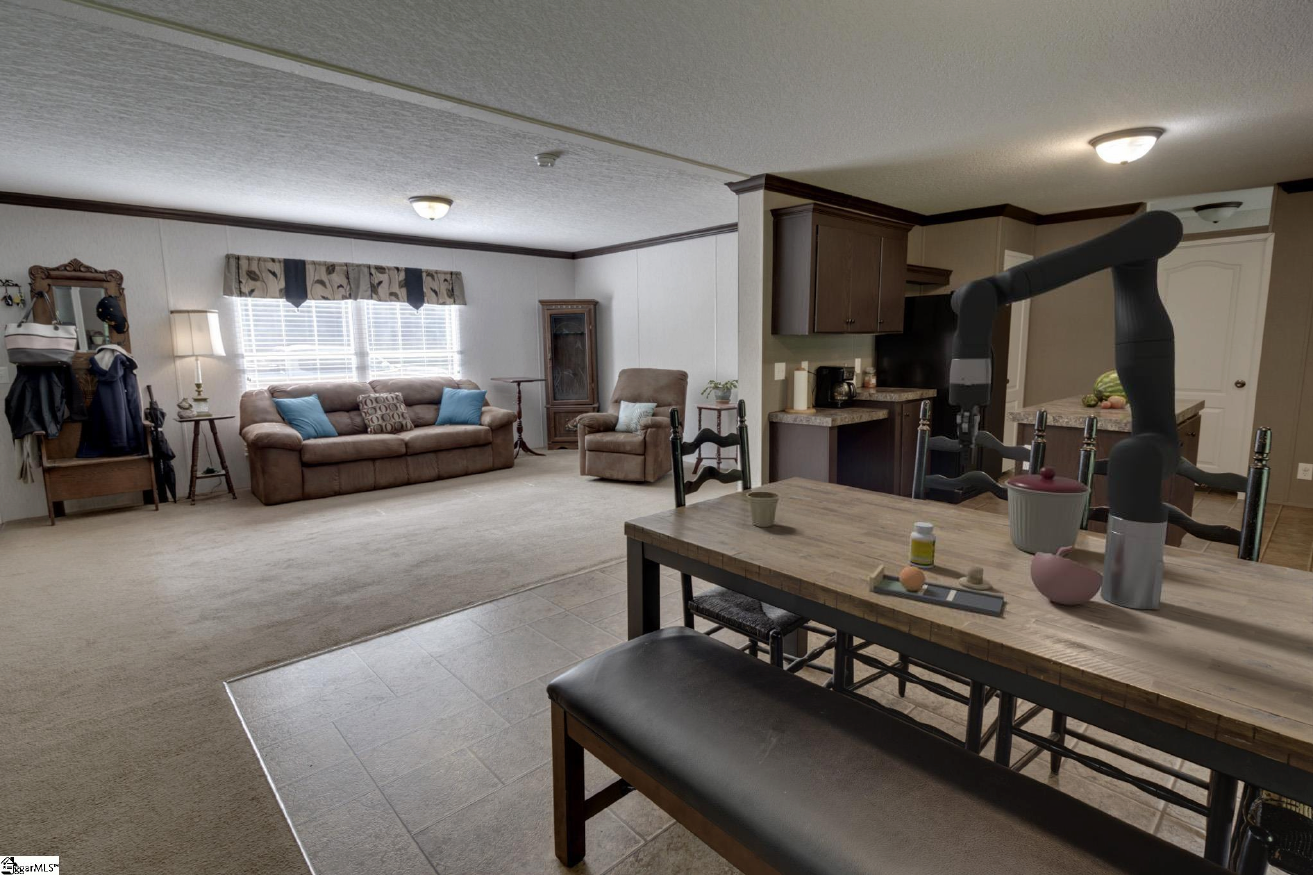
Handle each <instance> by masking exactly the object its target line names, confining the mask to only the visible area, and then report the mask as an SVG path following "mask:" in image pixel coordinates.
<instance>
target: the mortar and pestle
mask: <svg viewBox="0 0 1313 875" xmlns="http://www.w3.org/2000/svg"><path fill="white" fill-rule="evenodd" d="M1075 550H1076V547H1075V546H1069V547H1061V548H1060V549H1059V551H1058V552H1057V554H1056V555H1053V554H1051V553H1042V552H1037V553H1036V554H1034V556H1033V558H1032V560H1031V564H1030V567H1029V568H1030V578H1031V580H1032V583H1033V585H1034V587H1035V588H1036V589H1037V591H1038V592H1039V593H1040V594H1041V595H1042V596H1043V597H1045V598H1046V599H1048V600H1050V601H1052V602H1054V603H1057V604H1061V605H1066V606H1075V605H1081V604H1084V603H1086V602H1088V601H1090V600H1092V599H1093V598H1094V597H1095V596H1096V595H1097V594H1098V593H1099V592H1100V591H1101V585H1102V581H1103V574H1102V573H1100V572H1098V571H1097V570H1095V569H1093V568H1091V567H1089V566H1086V565H1085V564H1082V563H1081V564H1080V563H1079V562H1078V561H1074V560H1071V559H1070V558H1065V557H1064V556H1065V555H1066V554H1065V553H1067V552H1069V553H1072V552H1073V551H1075ZM1064 554H1065V555H1064Z"/></svg>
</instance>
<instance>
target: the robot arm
mask: <svg viewBox="0 0 1313 875" xmlns="http://www.w3.org/2000/svg"><path fill="white" fill-rule="evenodd" d="M1183 234H1184V226H1183V223H1182V221H1181V219H1180V218H1179V217H1178V216H1177V215H1176V214H1174V213H1172V212H1170V211H1167V210H1161V209H1160V210H1159V209H1156V210H1148V211H1143V212H1142V213H1140V214H1137V215H1135V216H1133V217H1131V218H1130V219H1128V220H1126V221H1125V222H1123V223H1122V224H1119V225H1118V226H1117V227H1116V228H1115V229H1112V230H1111V231H1108V232H1106V233H1103V234H1101V235H1099V236H1096V237H1094V238H1092V239H1089V240H1087V241H1084V242H1081V243H1078V244H1075V245H1073V246H1069V247H1066V248H1063V249H1060V250H1057V251H1054V252H1052V253H1048V254H1045V255H1042V256H1039V257H1036V258H1032V259H1031V260H1028V261H1024V262H1022V263H1019V264H1017V265H1014V266H1011V267H1008V268H1007V269H1005V270H1003V271H1001V272H999V273H996V274H993V275H990V276H987V277H983V278H980V279H975V280H972V281H969V282H967V283H965V284H962V285H960V286H959V287H957V289H955V291H954V292H953V294H952V297H951V300H950V305H951V308H952V311H953V312H954V313H955V314H956V315H958V320H957V321H958V322H957V329H956V331H955V333H954V335H953V339H952V347H951V348H952V351H951V365H950V370H949V386H948V387H949V392H948V394H949V395H948V403H949V404H950V405H953V406H960V407H961V408H960V412H958V413H957V414H956V423H957V435H958V436H957V437H958V445H959V448H960V454H959V455H960V456H959V457H960V458H959V459H960V461H959V465H961V466H965V467H966V466H967V467H972V465H973V461H974V460H973V458H974V457H973V456H974V448H975V445H976V441H977V438H976V436H977V435H978V432H979V431H978V428H979V422H980V420H981V419H980V418H981V417H980V416H981V415H980V414H981V413H977V406H988V405H989V404H990V401H991V400H990V399H991V384H992V383H991V381H992V379H991V378H992V365H991V364H992V363H991V353H992V352H991V350H992V333H993V330H994V329H993V328H994V325H995V320H996V316H997V310H998V308H1001V307H1003V306H1006V305H1009V304H1013V303H1018V302H1022V301H1026V300H1028V299H1032V298H1035V297H1037V296H1040V295H1043V294H1046V293H1049V292H1051V291H1054V290H1057V289H1058V288H1062V287H1064V286H1066V285H1069V284H1071V283H1073V282H1076V281H1078V280H1081V279H1083V278H1085V277H1087V276H1090V275H1093V274H1095V273H1099V272H1101V271H1104V270H1107V269H1110V270H1111V278H1112V283H1113V284H1112V285H1113V292H1114V294H1113V295H1114V363H1115V371H1116V376H1117V377H1118V381H1119V383H1120V386H1121V388H1122V391H1123V392H1124V394H1125V397H1126V399H1127V402H1128V405H1129V408H1130V409H1129V410H1130V415H1131V416H1130V417H1131V418H1130V419H1131V429H1130V430H1131V431H1130V432H1131V433H1130V437H1126V438H1124V439H1121V440H1119V441H1118V442H1117V443H1116V444H1114V446H1113V447H1112V448H1111V451H1110V453H1109V457H1108V460H1107V470H1106V472H1107V473H1106V492H1105V493H1106V494H1105V495H1106V500H1107V503H1108V506H1109V507H1108V517H1107V518H1108V519H1107V529H1106V537H1105V550H1104V557H1103V558H1104V559H1103V569H1102V576H1103V581H1102V585H1101V587H1100V597H1101V598H1102V599H1104V600H1106V601H1107V602H1109V603H1111V604H1114V605H1118V606H1121V607H1125V608H1129V609H1137V610H1156V611H1159V610H1160V605H1161V597H1162V596H1161V595H1162V589H1163V588H1162V587H1163V579H1164V571H1165V562H1164V552H1165V544H1166V536H1167V526H1168V519H1169V507H1168V505H1167V504H1165V503H1163V500H1162V486H1163V481H1165V480H1168V479H1169V478H1172V477H1173V476H1174V475H1175V474H1176V473H1177V472H1178V470H1180V469H1179V468H1180V466H1181V465H1182V464H1181V463H1182V449H1181V448H1182V447H1181V441H1180V436H1179V435H1180V434H1179V428H1178V423H1177V416H1176V341H1175V329H1174V326H1173V323H1172V320H1171V318H1170V316H1169V313H1168V312H1167V309H1166V308H1165V306H1164V304H1163V301H1162V299H1161V297H1160V296H1161V295H1160V293H1159V288H1158V265H1159V260H1160V259H1162V258H1165V257H1166V256H1168V255H1169V254H1171V253H1172V252H1173V251H1174V250H1175V249H1176V248H1177V247H1178V245H1179V244H1180V242H1181V241H1182V239H1183V236H1184V235H1183Z"/></svg>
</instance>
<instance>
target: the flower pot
mask: <svg viewBox="0 0 1313 875" xmlns="http://www.w3.org/2000/svg"><path fill="white" fill-rule="evenodd" d="M746 497H747V500H748V502H749V511H750V520H751V525H753V526H757V527H760V528H762V527H763V528H767V527H768V528H769V527H771V526H774V525H775V519H776V513H777V506H778V505H777V504H778V502H779V498H781V495H780V494H779V493H777V492H772V491H763V490H762V491H751V492H747V493H746Z"/></svg>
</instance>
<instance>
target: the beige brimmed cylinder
mask: <svg viewBox="0 0 1313 875" xmlns="http://www.w3.org/2000/svg"><path fill="white" fill-rule="evenodd" d="M958 584H959V585H960V586H962V587H963V588H965V589H968V590H974V591H986V590H989V589H991V583H990V581H988V580H986V579H984V568H983V567H980V566H977V565H976V566H975V565H970V566H967V575H966V576H963V577H960V578H959V580H958Z"/></svg>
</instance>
